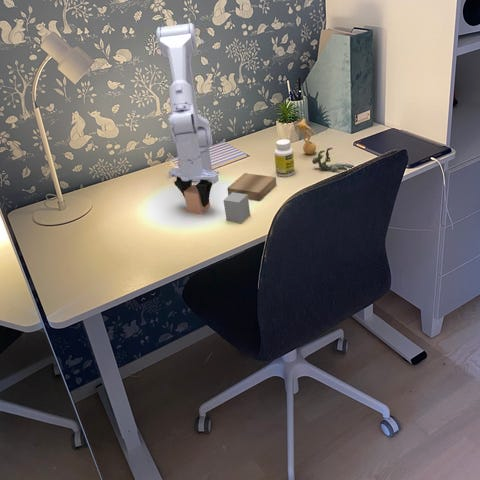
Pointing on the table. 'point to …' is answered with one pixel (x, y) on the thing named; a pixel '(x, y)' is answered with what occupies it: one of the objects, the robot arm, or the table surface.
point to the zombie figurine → (332, 167)
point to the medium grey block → (237, 207)
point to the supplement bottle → (284, 158)
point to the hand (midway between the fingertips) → (197, 203)
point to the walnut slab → (253, 186)
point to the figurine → (308, 146)
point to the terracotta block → (194, 200)
